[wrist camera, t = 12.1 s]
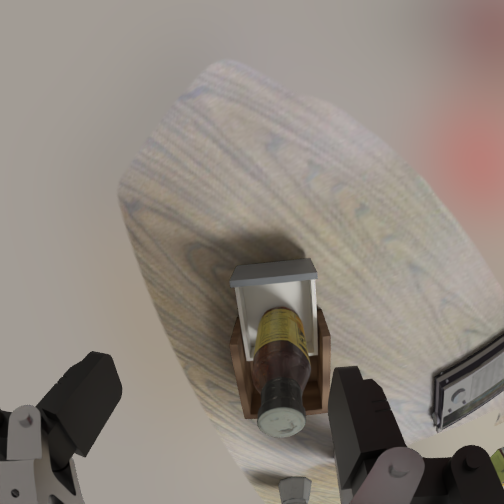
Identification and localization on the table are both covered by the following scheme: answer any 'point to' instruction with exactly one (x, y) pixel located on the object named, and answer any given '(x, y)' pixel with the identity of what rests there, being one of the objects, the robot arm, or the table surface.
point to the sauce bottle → (281, 372)
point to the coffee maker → (295, 490)
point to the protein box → (499, 463)
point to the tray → (276, 297)
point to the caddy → (315, 388)
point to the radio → (469, 385)
